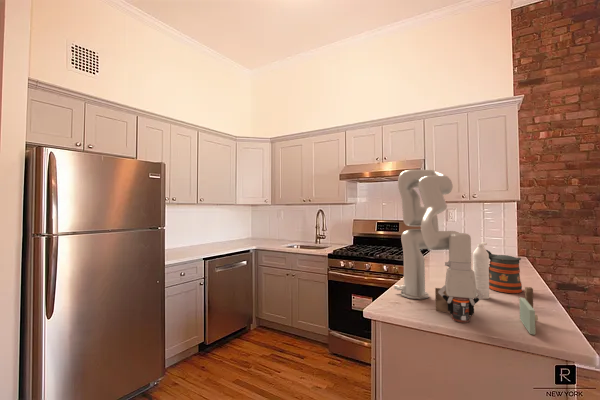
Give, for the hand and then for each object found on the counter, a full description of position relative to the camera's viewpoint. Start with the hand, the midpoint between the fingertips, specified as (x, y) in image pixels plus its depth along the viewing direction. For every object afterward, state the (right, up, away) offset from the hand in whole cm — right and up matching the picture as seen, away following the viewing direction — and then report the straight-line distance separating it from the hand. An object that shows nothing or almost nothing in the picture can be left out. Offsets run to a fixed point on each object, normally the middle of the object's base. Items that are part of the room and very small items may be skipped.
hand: (460, 313), depth 118 cm
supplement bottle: (0, -3, 0) cm, 3 cm away
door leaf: (+21, -2, -7) cm, 22 cm away
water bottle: (+25, -3, +29) cm, 39 cm away
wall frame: (+11, -3, +6) cm, 13 cm away
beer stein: (+41, -3, +42) cm, 59 cm away
